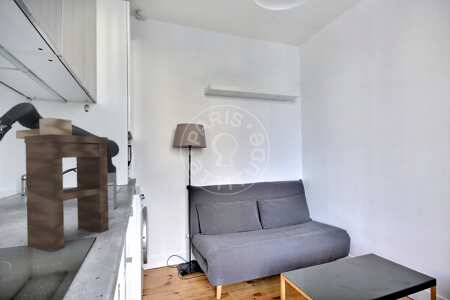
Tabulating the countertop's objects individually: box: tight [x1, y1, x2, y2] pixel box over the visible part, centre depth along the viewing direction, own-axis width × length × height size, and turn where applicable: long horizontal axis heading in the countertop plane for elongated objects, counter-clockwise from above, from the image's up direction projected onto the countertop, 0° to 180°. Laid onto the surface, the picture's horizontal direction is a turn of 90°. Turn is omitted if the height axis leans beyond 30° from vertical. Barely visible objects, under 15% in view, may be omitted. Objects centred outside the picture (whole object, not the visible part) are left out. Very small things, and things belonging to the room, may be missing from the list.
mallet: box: [15, 117, 73, 140], centre depth 70 cm, size 6×20×5 cm, turn 69°
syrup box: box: [108, 183, 115, 220], centre depth 91 cm, size 6×6×14 cm
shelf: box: [23, 134, 110, 253], centre depth 71 cm, size 18×12×32 cm, turn 159°
